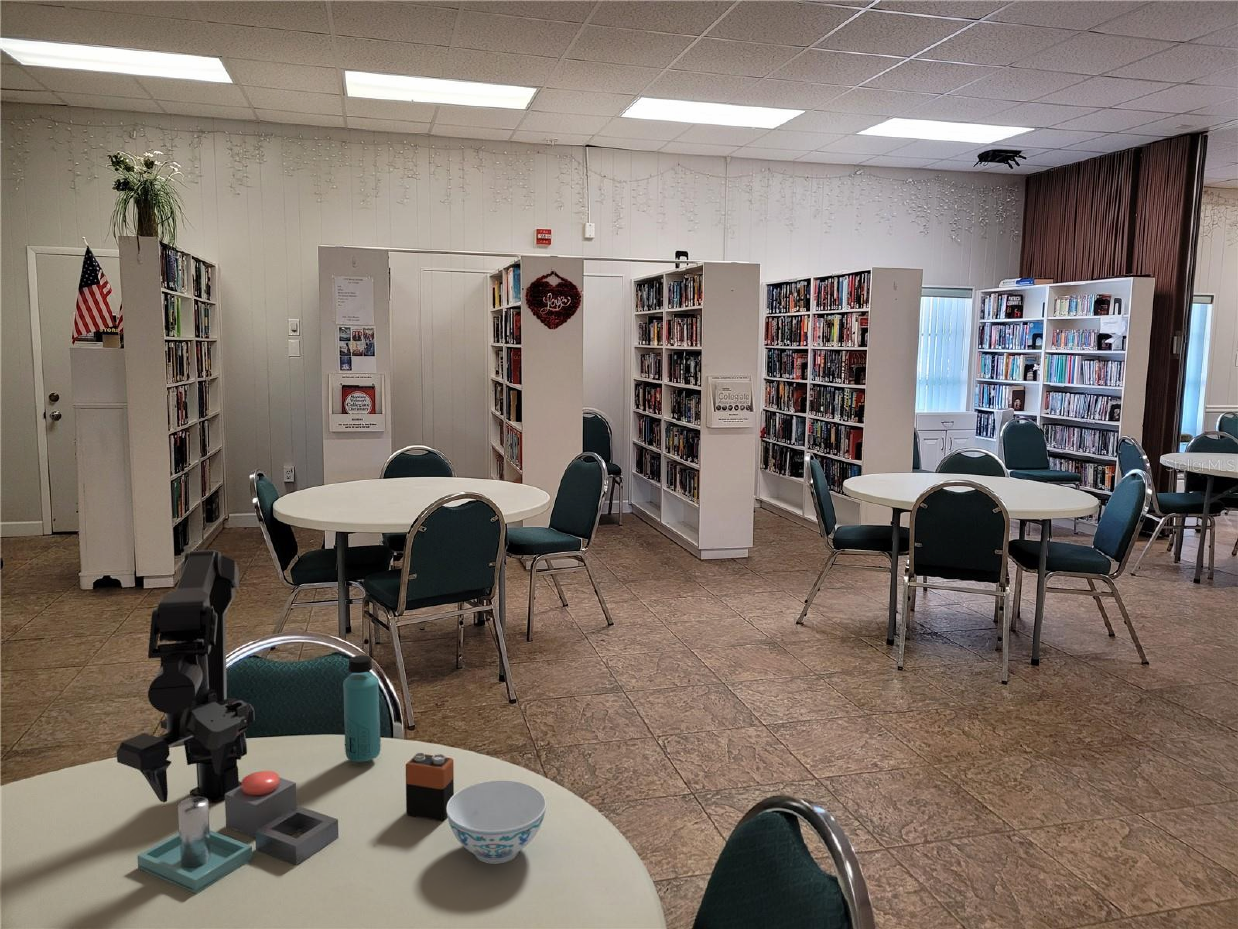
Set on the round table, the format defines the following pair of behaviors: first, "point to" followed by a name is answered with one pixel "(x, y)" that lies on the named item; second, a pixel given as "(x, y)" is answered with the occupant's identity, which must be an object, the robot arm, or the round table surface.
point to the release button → (260, 783)
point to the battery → (429, 785)
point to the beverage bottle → (361, 711)
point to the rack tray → (223, 861)
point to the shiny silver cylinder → (194, 832)
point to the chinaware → (496, 818)
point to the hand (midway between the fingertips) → (192, 787)
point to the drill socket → (294, 850)
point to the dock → (258, 807)
